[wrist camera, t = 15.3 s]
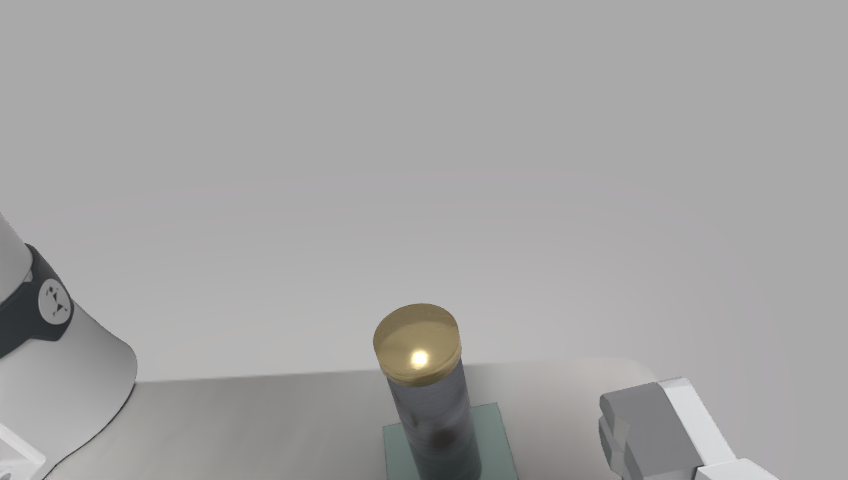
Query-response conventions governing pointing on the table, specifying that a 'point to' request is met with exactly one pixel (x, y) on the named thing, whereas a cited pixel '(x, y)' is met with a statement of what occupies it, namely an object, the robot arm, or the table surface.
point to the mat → (490, 439)
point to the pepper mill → (430, 390)
